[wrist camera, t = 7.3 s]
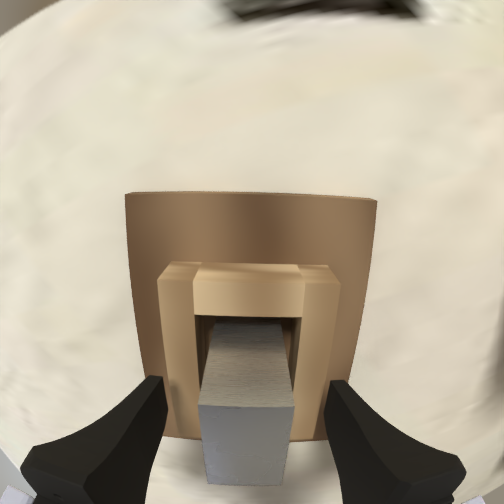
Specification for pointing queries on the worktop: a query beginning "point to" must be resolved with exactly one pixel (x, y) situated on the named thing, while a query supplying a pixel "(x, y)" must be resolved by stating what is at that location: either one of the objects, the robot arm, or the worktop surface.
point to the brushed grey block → (246, 402)
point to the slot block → (248, 287)
